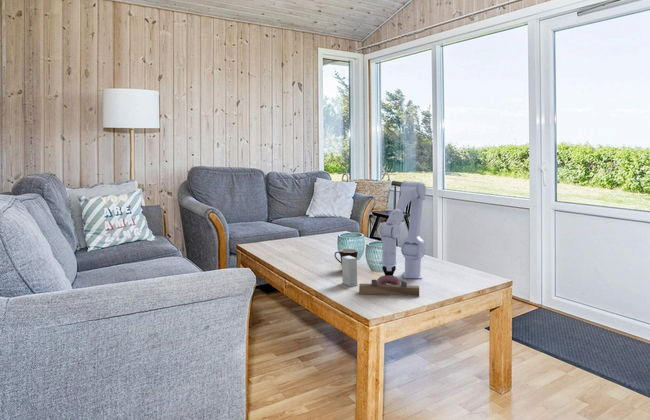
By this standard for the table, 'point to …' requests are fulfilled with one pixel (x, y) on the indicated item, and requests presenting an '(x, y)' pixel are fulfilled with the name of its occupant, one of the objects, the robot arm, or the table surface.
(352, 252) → the coffee mug
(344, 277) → the skincare box
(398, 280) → the video game controller
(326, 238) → the table surface
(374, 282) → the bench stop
